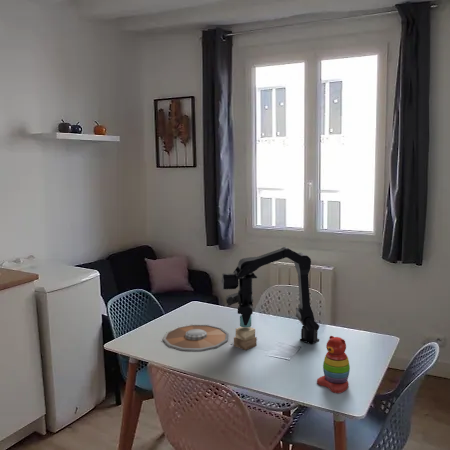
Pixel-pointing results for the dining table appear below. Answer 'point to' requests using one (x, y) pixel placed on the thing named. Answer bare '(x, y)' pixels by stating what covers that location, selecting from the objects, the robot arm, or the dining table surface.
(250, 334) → the oak top block
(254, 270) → the robot arm
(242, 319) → the teal cylinder
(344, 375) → the stacking bear
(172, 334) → the shield
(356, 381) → the dining table surface
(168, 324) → the dining table surface
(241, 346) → the walnut base block
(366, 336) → the dining table surface
